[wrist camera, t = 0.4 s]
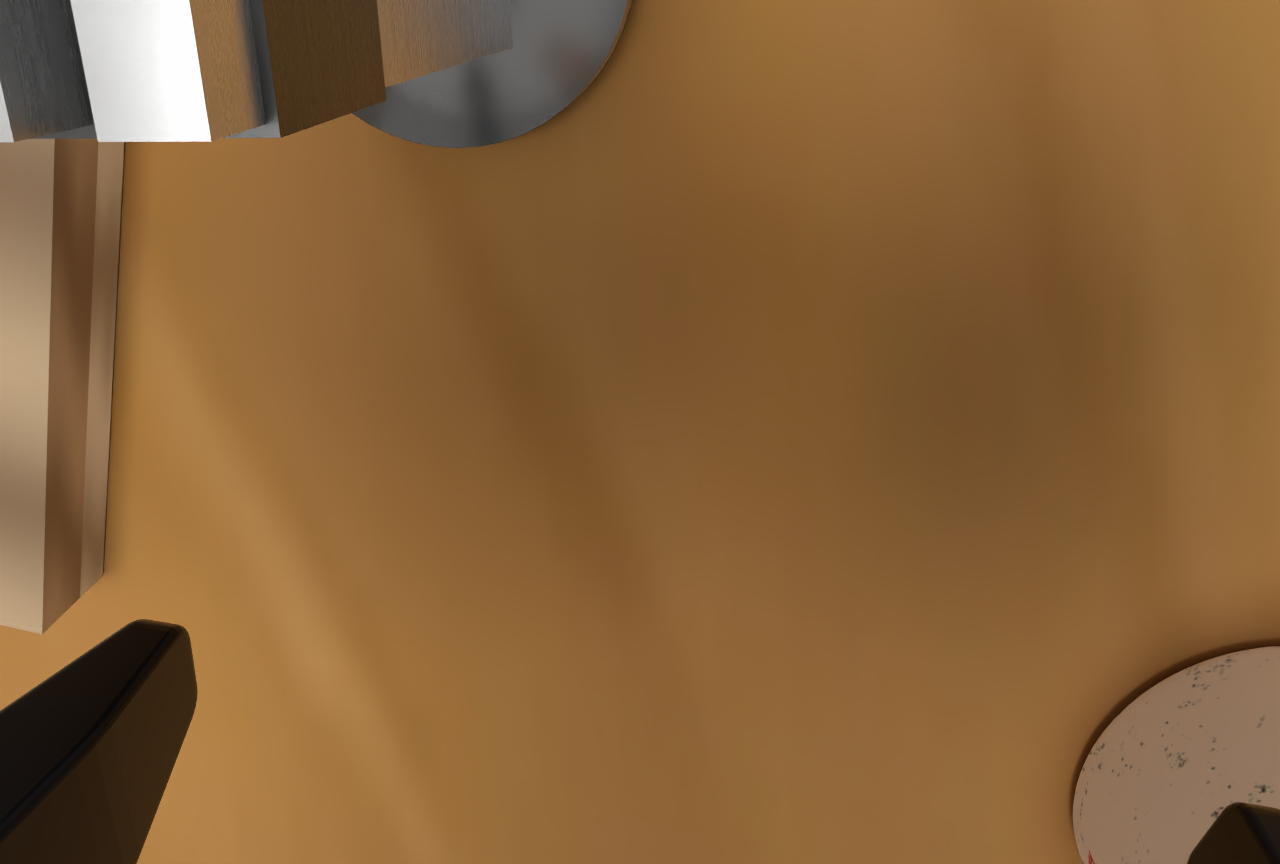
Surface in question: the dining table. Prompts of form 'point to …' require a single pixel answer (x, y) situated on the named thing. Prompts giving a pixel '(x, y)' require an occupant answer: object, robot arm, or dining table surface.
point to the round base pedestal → (296, 67)
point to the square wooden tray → (55, 369)
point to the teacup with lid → (1181, 761)
